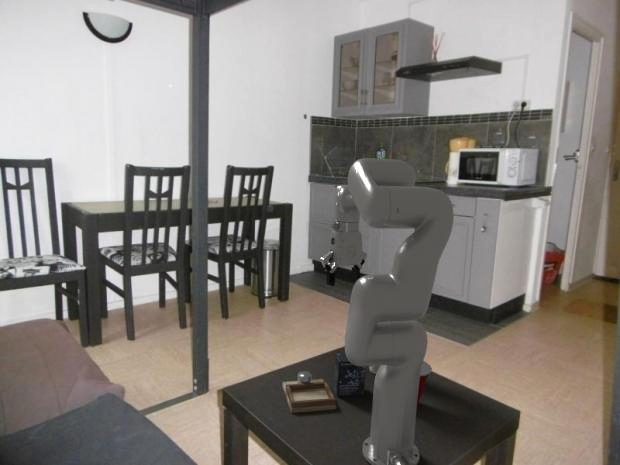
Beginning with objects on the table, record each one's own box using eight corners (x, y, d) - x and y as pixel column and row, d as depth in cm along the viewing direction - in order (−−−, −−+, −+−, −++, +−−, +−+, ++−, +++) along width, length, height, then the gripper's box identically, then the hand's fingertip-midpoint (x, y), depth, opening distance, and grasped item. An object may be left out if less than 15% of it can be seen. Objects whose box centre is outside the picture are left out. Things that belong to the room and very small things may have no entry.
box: (336, 397, 124) (338, 361, 123) (333, 387, 130) (335, 352, 128) (364, 396, 125) (367, 360, 124) (359, 386, 131) (361, 352, 129)
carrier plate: (336, 409, 118) (336, 394, 118) (291, 412, 116) (291, 398, 115) (322, 382, 132) (323, 369, 132) (282, 385, 130) (282, 372, 129)
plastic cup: (429, 418, 116) (433, 375, 114) (387, 412, 118) (390, 369, 116) (427, 397, 126) (431, 357, 124) (388, 391, 128) (391, 352, 126)
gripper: (331, 230, 125) (328, 290, 128) (376, 227, 135) (372, 282, 138) (315, 226, 131) (312, 283, 134) (359, 223, 141) (356, 276, 144)
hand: (343, 282), depth 136 cm, fingers open, 9 cm apart
